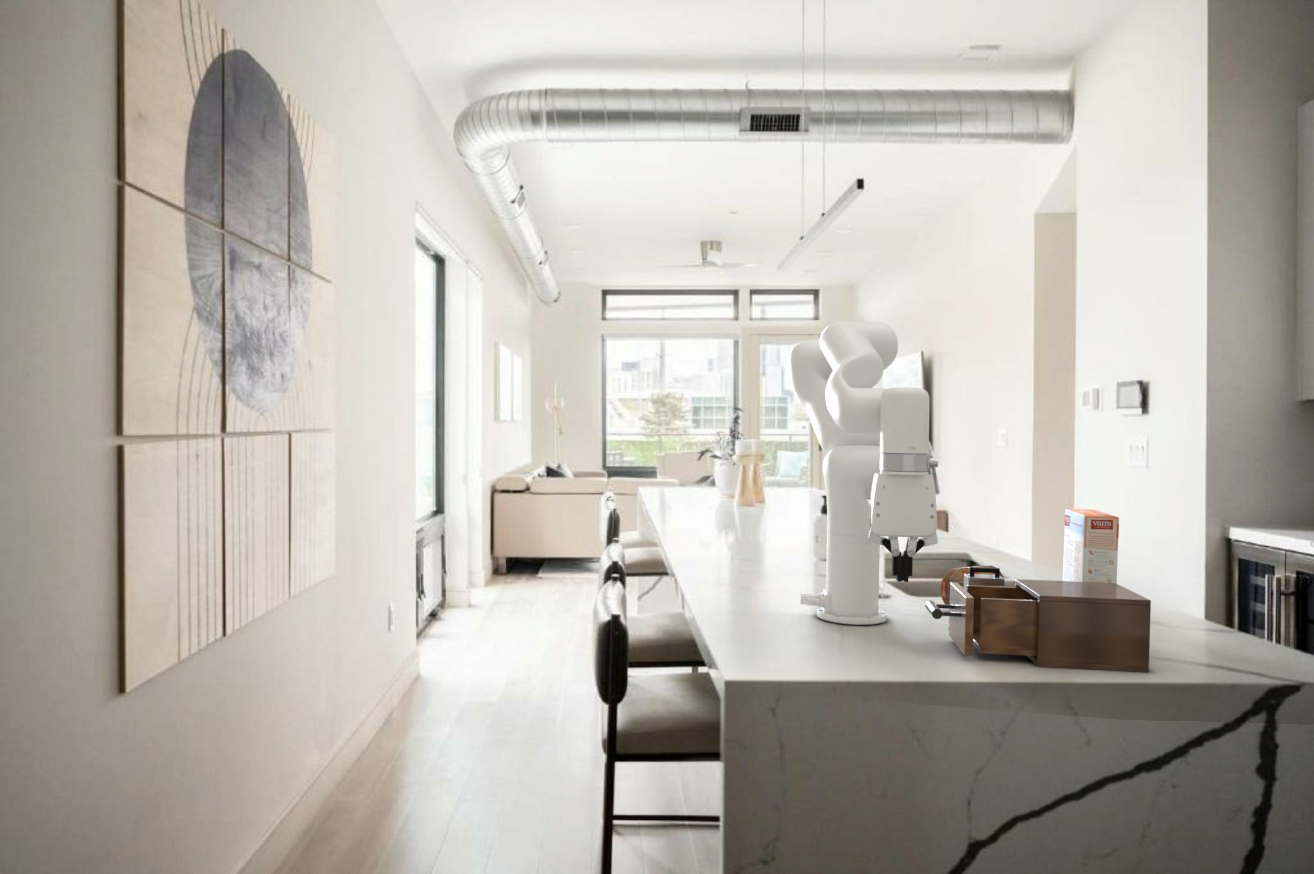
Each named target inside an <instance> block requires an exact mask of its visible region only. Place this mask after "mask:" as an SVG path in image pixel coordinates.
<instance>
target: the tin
mask: <svg viewBox="0 0 1314 874" xmlns="http://www.w3.org/2000/svg"><path fill="white" fill-rule="evenodd" d="M969 567H970V566H963V567H954V568H950V569H949V570H947V571H946V572H945V574H944V575H943V577H942V579H941V582H940V595H941V600H942V602H943V604H947V605H950V582H952V583H958V584H959V585H960V586H961V587H963V588H964V574H969ZM971 567H991V568H997V567H996V566H994V565H972V566H971ZM975 574H984V575H994V573H982V572H975ZM1000 576H1001V577H1003V578H1004V575H1003V573H1002V572H1001V571H1000ZM1004 587H1006V583H1005V584H1004Z"/></svg>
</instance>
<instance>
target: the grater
mask: <svg viewBox="0 0 1314 874" xmlns="http://www.w3.org/2000/svg"><path fill="white" fill-rule="evenodd" d="M968 567H969V574H964V589H965V590H967V585H977V586H1001V587H1004V584H1005V585H1006V583H1005V582H1006V581H1005V578H1004V576H1003V577H1001V576H1000V572H1001V568H1000V567H996V568H991V567H972V566H968ZM975 572H982V573H994V575H984V574H975Z"/></svg>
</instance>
